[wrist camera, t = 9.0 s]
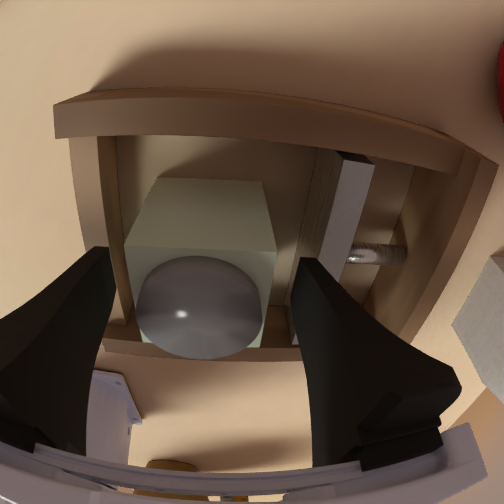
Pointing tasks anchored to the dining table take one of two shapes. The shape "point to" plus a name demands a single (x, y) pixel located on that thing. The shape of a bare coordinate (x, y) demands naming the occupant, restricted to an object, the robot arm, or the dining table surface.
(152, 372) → the dining table surface
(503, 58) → the apple
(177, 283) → the jar
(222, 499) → the condiment
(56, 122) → the brown wooden shallow box
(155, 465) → the plant pot
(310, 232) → the pusher plate
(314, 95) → the dining table surface
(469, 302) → the milk carton
